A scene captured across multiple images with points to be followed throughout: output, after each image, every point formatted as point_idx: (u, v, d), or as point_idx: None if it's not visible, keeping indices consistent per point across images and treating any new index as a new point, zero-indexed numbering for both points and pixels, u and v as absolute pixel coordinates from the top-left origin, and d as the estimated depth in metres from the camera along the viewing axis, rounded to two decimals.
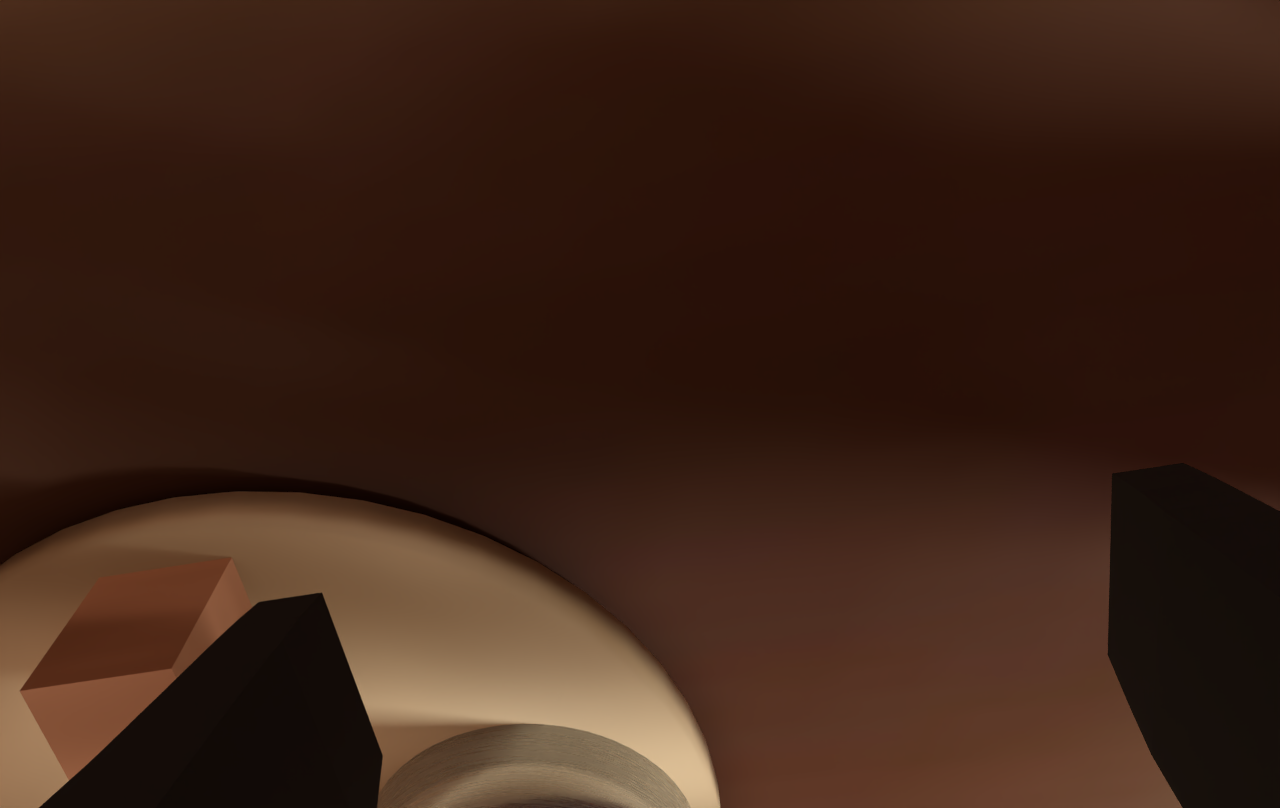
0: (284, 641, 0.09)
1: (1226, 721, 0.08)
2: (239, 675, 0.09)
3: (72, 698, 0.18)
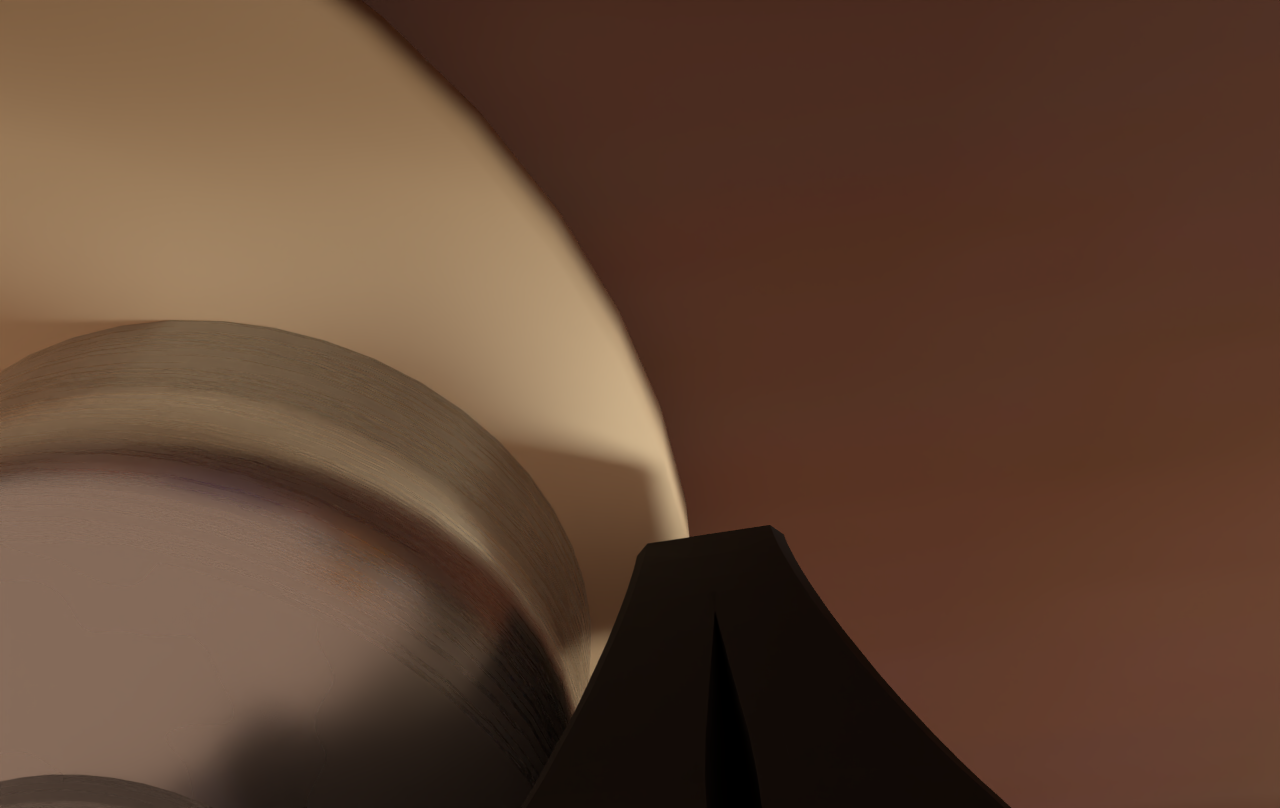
0: (715, 577, 0.09)
1: (748, 786, 0.09)
2: (695, 608, 0.08)
3: None
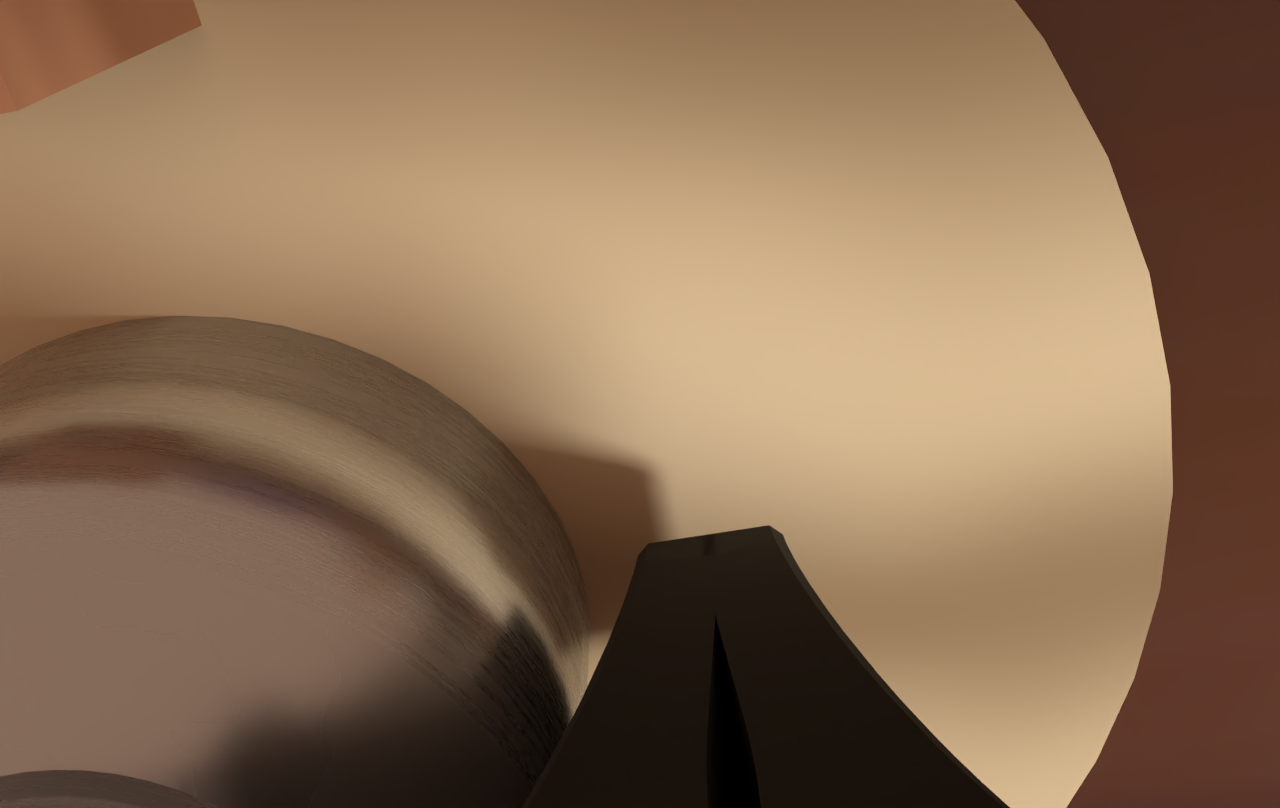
0: (716, 577, 0.09)
1: (748, 786, 0.08)
2: (697, 608, 0.08)
3: None
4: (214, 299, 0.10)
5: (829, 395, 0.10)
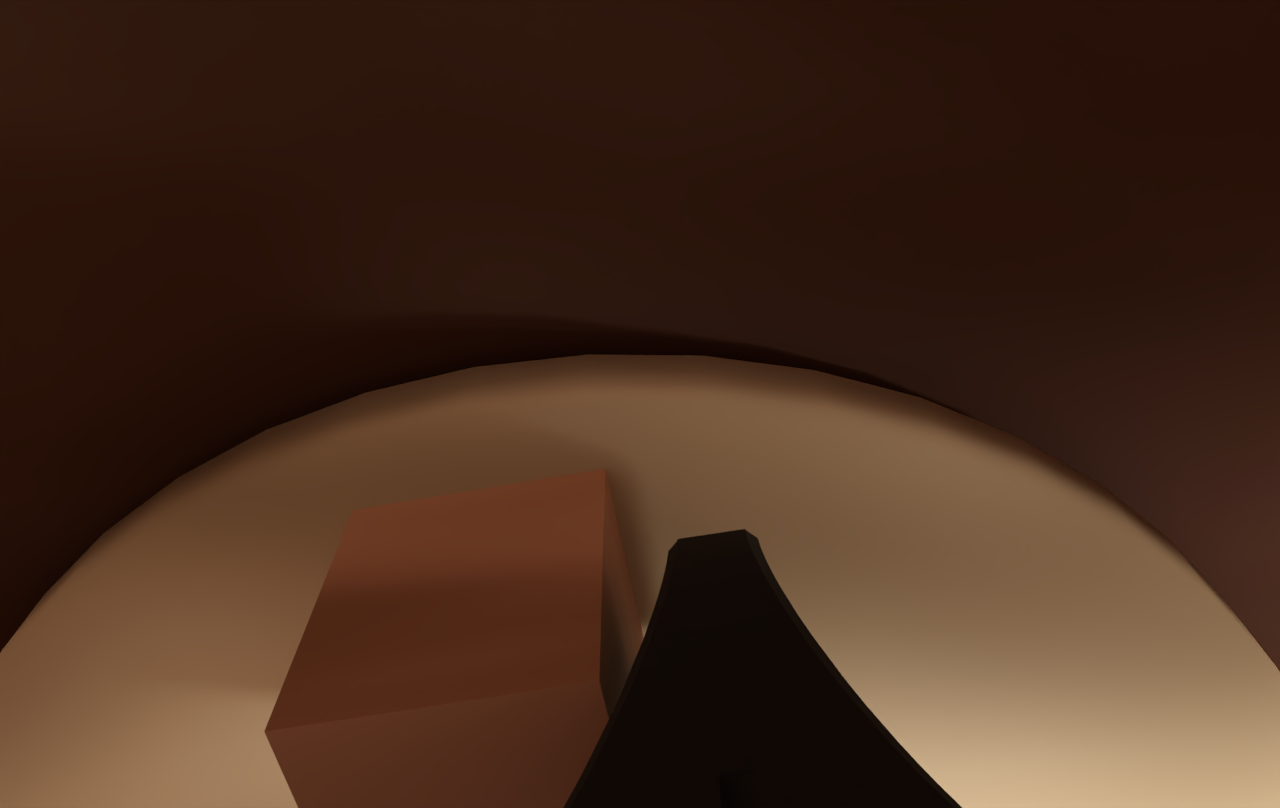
0: (750, 572, 0.09)
1: None
2: (733, 603, 0.08)
3: (374, 746, 0.08)
4: None
5: None
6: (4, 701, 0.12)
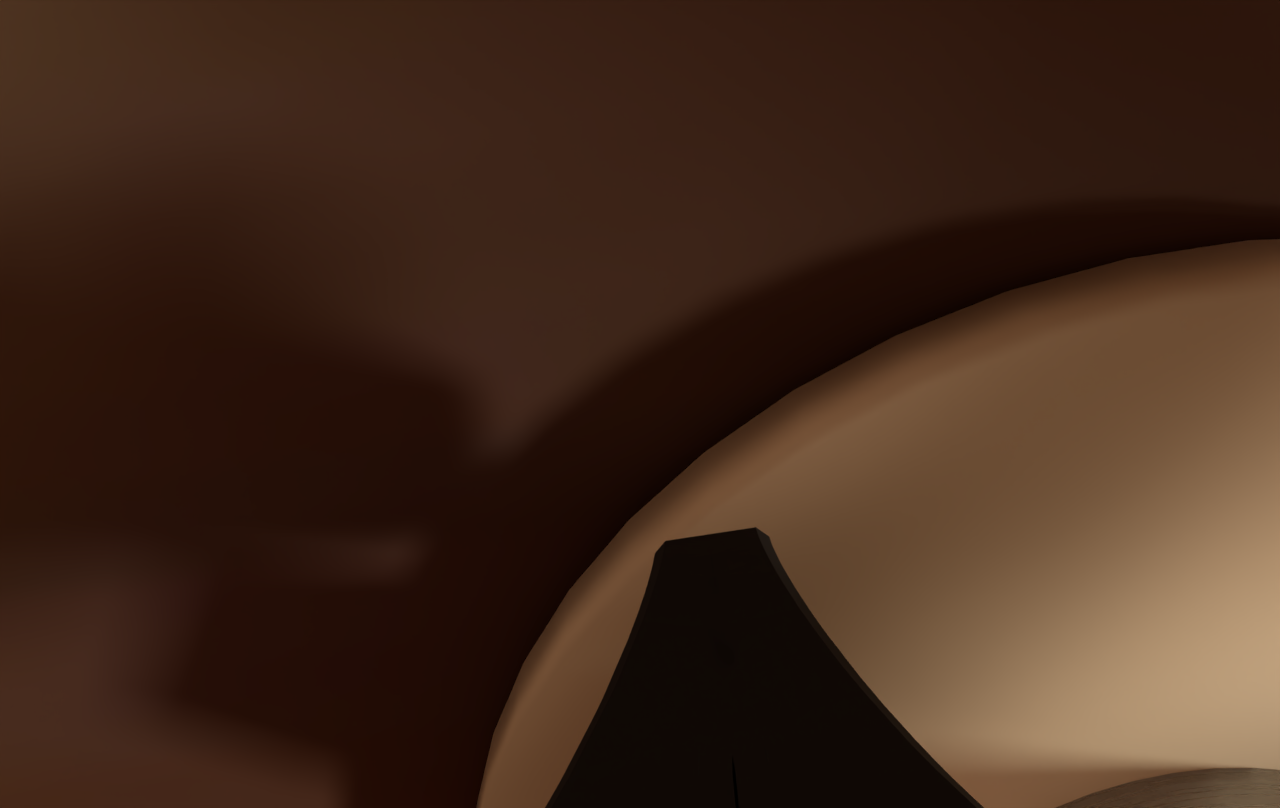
0: (735, 574, 0.09)
1: None
2: (717, 605, 0.08)
3: None
4: None
5: None
6: None
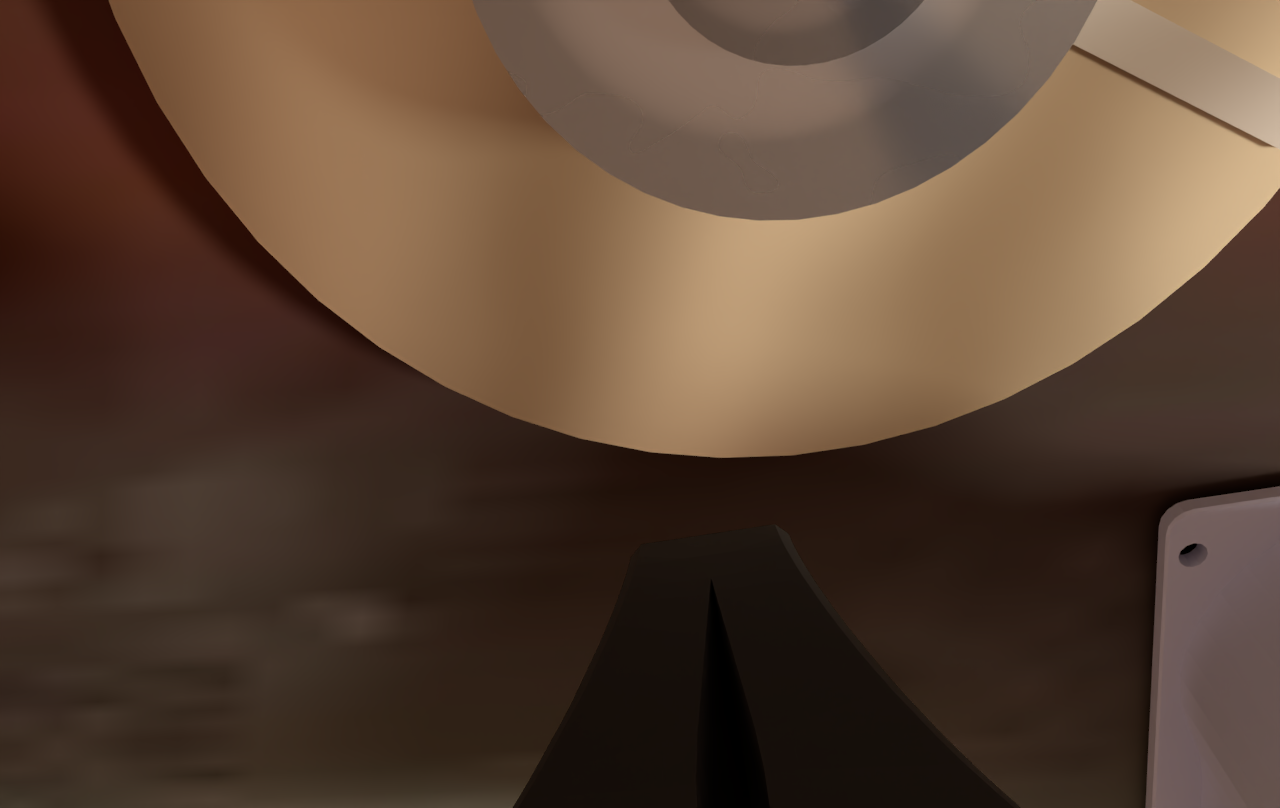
0: (709, 578, 0.09)
1: (753, 784, 0.09)
2: (689, 609, 0.08)
3: None
4: None
5: None
6: (150, 40, 0.15)
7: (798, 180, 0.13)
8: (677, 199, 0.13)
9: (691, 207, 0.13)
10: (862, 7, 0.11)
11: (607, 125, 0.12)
